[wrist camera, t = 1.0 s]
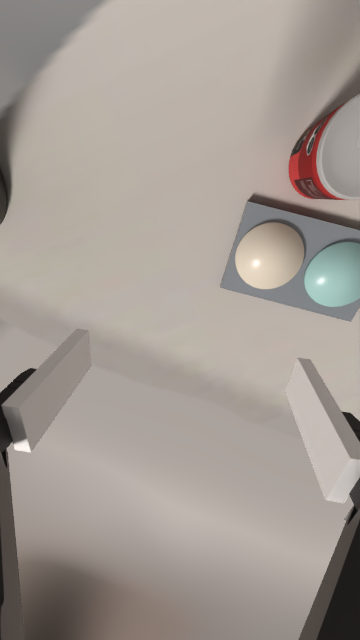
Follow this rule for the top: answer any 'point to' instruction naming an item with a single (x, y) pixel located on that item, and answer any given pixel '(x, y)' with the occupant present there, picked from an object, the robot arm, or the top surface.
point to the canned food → (329, 156)
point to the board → (282, 257)
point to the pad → (334, 275)
